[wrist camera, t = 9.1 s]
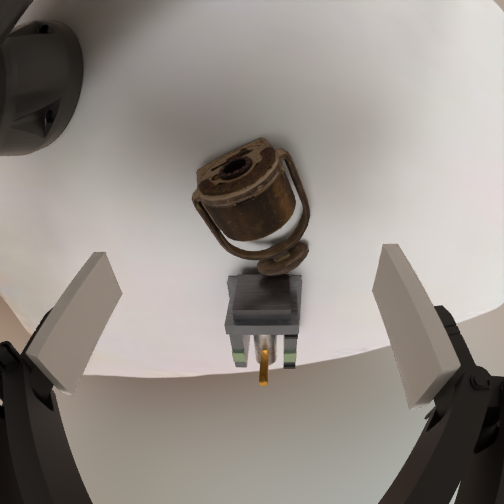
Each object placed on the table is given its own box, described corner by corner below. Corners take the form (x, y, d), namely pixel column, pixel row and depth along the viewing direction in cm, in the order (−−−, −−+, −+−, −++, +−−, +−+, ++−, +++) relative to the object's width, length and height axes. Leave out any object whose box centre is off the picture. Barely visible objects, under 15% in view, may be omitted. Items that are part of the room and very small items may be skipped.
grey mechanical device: (238, 274, 28) (227, 333, 22) (289, 274, 28) (291, 333, 21) (246, 340, 34) (240, 394, 27) (287, 340, 33) (288, 395, 27)
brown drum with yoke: (339, 144, 17) (181, 151, 16) (327, 304, 23) (205, 321, 22) (305, 135, 23) (189, 142, 22) (302, 263, 29) (205, 274, 28)
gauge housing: (228, 276, 30) (217, 325, 24) (301, 275, 29) (306, 325, 23) (236, 327, 34) (229, 374, 28) (298, 327, 34) (300, 374, 28)
